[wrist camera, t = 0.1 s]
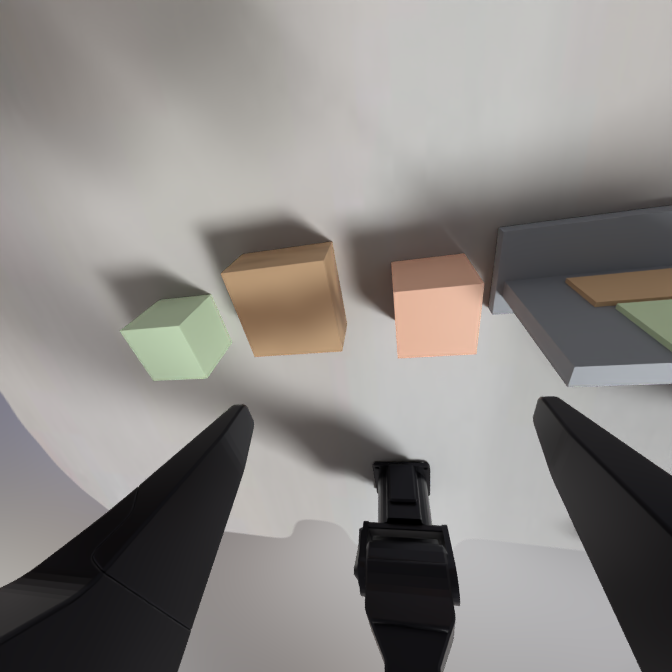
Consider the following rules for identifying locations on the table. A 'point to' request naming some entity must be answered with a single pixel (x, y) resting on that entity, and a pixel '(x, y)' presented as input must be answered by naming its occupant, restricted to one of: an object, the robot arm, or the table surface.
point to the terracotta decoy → (436, 306)
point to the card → (592, 294)
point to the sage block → (179, 338)
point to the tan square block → (289, 300)
